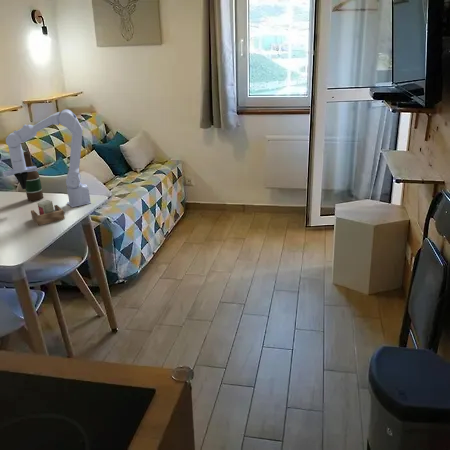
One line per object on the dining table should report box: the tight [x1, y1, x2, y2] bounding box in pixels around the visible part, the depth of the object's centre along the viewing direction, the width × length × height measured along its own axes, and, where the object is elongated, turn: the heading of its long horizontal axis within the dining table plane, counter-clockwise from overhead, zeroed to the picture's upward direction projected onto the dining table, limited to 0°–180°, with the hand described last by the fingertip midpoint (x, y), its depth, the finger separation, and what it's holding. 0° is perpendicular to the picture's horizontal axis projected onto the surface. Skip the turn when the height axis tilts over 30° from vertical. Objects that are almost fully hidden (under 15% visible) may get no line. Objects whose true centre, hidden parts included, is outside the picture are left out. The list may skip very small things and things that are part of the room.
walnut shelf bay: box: [30, 204, 66, 226], centre depth 213 cm, size 12×10×4 cm
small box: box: [36, 199, 55, 215], centre depth 213 cm, size 5×4×8 cm
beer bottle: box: [23, 150, 44, 202], centre depth 236 cm, size 8×8×24 cm
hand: (23, 188), depth 222 cm, fingers closed
